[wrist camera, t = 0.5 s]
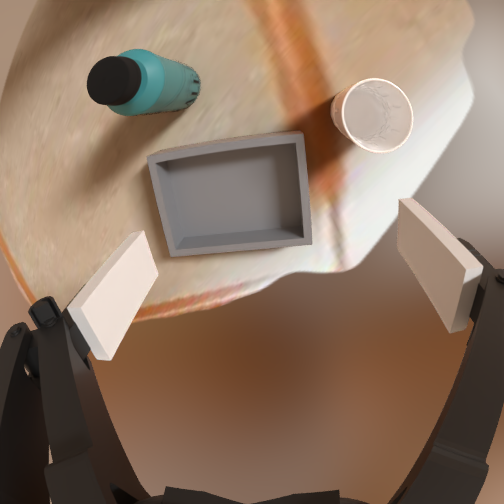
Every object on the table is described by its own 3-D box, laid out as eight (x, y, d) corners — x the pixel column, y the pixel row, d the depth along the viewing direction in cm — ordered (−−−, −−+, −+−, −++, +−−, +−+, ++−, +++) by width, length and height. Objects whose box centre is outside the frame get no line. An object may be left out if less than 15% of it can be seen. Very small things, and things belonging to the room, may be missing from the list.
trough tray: (160, 150, 39) (146, 156, 35) (300, 130, 37) (303, 133, 33) (180, 241, 46) (170, 257, 41) (308, 229, 43) (312, 244, 39)
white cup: (390, 131, 36) (422, 140, 27) (339, 149, 38) (358, 163, 29) (369, 76, 33) (397, 70, 24) (315, 95, 35) (329, 91, 26)
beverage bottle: (154, 73, 34) (64, 60, 17) (200, 59, 33) (136, 26, 16) (163, 116, 37) (78, 134, 19) (210, 104, 36) (152, 106, 18)
